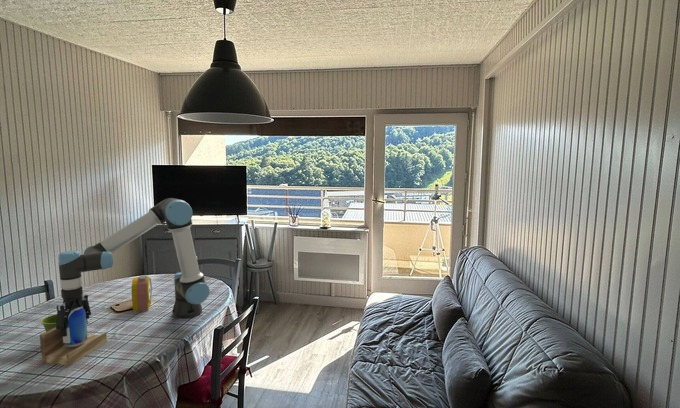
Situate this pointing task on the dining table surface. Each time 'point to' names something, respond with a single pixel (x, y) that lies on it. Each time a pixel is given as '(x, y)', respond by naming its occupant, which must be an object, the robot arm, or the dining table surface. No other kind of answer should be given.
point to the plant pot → (49, 322)
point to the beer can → (77, 327)
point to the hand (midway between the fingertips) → (75, 337)
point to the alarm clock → (141, 293)
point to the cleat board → (60, 353)
